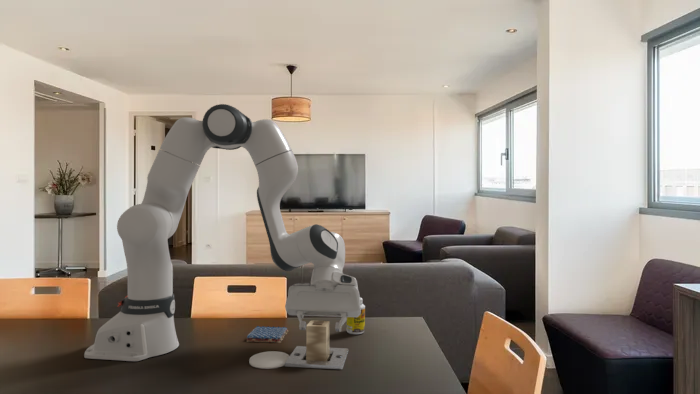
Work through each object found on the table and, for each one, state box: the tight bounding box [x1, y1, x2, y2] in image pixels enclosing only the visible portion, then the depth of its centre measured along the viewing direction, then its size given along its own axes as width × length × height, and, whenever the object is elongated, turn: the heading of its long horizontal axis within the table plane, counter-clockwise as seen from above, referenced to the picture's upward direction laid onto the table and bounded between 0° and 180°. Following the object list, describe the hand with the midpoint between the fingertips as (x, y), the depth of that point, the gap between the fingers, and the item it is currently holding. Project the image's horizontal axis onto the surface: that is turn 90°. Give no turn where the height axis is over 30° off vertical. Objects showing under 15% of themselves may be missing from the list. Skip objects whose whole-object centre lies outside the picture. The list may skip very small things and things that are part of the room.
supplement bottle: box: [346, 297, 366, 335], centre depth 133 cm, size 6×6×10 cm
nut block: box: [305, 319, 331, 361], centre depth 112 cm, size 5×5×9 cm
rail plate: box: [284, 345, 349, 370], centre depth 112 cm, size 14×12×1 cm
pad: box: [248, 350, 290, 370], centre depth 110 cm, size 10×10×1 cm
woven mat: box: [246, 325, 290, 343], centre depth 129 cm, size 10×11×2 cm
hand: (320, 329), depth 113 cm, fingers open, 8 cm apart
